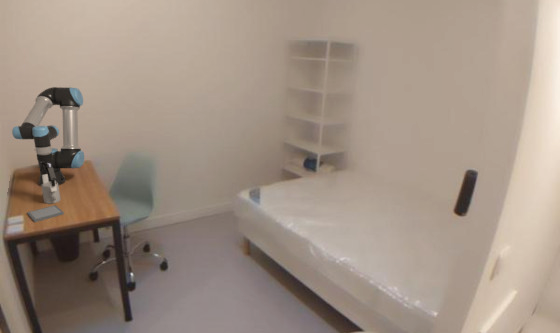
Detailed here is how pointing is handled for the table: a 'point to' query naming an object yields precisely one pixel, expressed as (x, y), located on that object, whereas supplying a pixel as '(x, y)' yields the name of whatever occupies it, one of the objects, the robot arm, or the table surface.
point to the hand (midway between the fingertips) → (50, 187)
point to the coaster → (45, 213)
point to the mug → (50, 193)
